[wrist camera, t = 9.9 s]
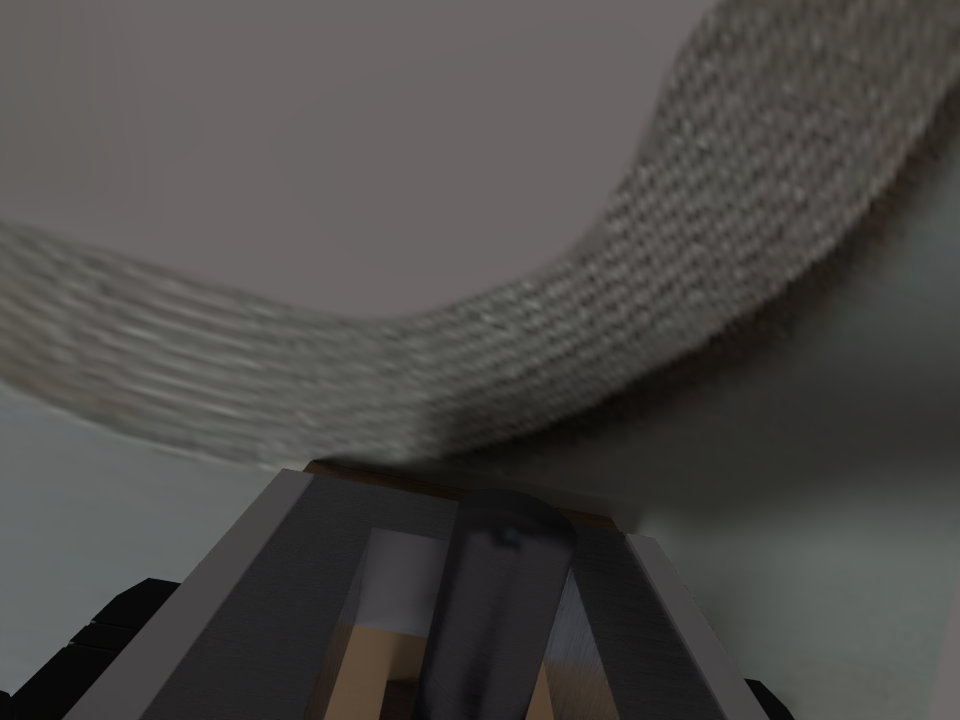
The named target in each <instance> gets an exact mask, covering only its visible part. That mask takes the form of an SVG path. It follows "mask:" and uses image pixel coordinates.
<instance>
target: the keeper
mask: <svg viewBox="0 0 960 720" xmlns="http://www.w3.org/2000/svg"><path fill="white" fill-rule="evenodd" d="M302 472H306V473H311V474H314V476H313V478H314V477H315V475H316V474H317V475H322V476H327V477H333V478H338V479H343V480H349V481H354V482H359V483H364V484H370V485H375V486H380V487H386V488H391V489H396V490H401V491H407V492H412V493H417V494H423V495H428V496H433V497H438V498H444V499H449V500H454V501H460V502H459V504H458V507H457V512H456V516H455V521H454V525H453V529H452V534H451V538H450V543H449V547H448V551H447V556H446V560H445V565H444V569H443V573H442V578H441V582H440V587H439V591H438V596H437V600H436V604H435V609H434V613H433V618H432V622H431V626H430V631H429V635H428V638H426V637H420V636H414V635H408V634H403V633H397V632H391V631H385V630H379V629H373V628H368V627H362V626H356V625H354V628H353V631H352V634H351V637H350V640H349V643H348V646H347V649H346V652H345V655H344V659H343V662H342V665H341V668H340V671H339V674H338V677H337V680H336V683H335V686H334V690H333V693H332V696H331V699H330V702H329V705H328V708H327V711H326V714H325V717H324V720H554V717H553V711H552V705H551V700H550V694H549V689H548V683H547V677H546V672H545V666H544V661H543V657H544V654H545V651H546V647H547V644H548V640H549V637H550V634H551V630H552V627H553V623H554V620H555V616H556V613H557V610H558V606H559V603H560V599H561V596H562V592H563V589H564V586H565V582H566V579H567V575H568V572H569V569H570V565H571V562H572V558H573V555H574V551H575V548H576V545H577V533H576V531H575V528H574V526H573V525H572V523H576V524H581V525H587V526H592V527H597V528H602V529H608V530H613V531H618V529H617V527H616V525H615V523H614V522H613V520H612V518H607V517H602V516H597V515H592V514H586V513H581V512H576V511H571V510H565V509H560V508H555V507H553V506H551V505H549V504H548V503H546V502H544V501H542V500H540V499H538V498H535V497H533V496H530V495H527V494H524V493H520V492H516V491H512V490H505V489H483V490H478V491H474V492H471V491H466V490H461V489H455V488H450V487H445V486H440V485H434V484H429V483H424V482H419V481H413V480H408V479H403V478H398V477H392V476H387V475H382V474H377V473H371V472H366V471H361V470H356V469H351V468H345V467H340V466H335V465H330V464H324V463H319V462H314V461H310V462H309V464H308V465H307V466H306V467H305V469H304V470H303V471H302ZM618 532H619V531H618Z"/></svg>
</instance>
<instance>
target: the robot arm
mask: <svg viewBox="0 0 960 720" xmlns="http://www.w3.org/2000/svg"><path fill="white" fill-rule="evenodd" d="M313 476H314V474H311V473H306V472H300V471H295V470H290V469H284V468H283V469H282V470H281V471H280V472H279V473H278V475H277V476H276V477H275V478H274V479H273V480H272V481H271V483H270V484H269V485H268V486H267V487H266V488H265V489H264V491H263V492H262V493H261V494H260V495H259V496H258V497H257V498H256V500H255V501H254V502H253V503H252V504H251V505H250V506H249V508H248V509H247V510H246V511H245V512H244V513H243V514H242V516H241V517H240V518H239V519H238V520H237V521H236V522H235V523H234V525H233V526H232V527H231V528H230V529H229V530H228V531H227V533H226V534H225V535H224V536H223V537H222V538H221V539H220V541H219V542H218V543H217V544H216V545H215V546H214V547H213V548H212V550H211V551H210V552H209V553H208V554H207V555H206V556H205V558H204V559H203V560H202V561H201V562H200V563H199V564H198V566H197V567H196V568H195V569H194V570H193V571H192V572H191V573H190V575H189V576H188V577H187V578H186V579H185V580H184V581H183V583H176V582H170V581H164V580H159V579H153V578H148V579H146V580H144V581H142V582H140V583H139V584H137V585H135V586H133V587H132V588H130V589H128V590H126V591H124V592H123V593H121V594H119V595H117V596H116V597H115V598H114V599H113V600H112V601H111V602H110V603H108V604H107V605H106V606H105V607H104V608H103V609H102V610H101V611H100V612H99V613H98V614H97V615H96V616H95V617H94V618H93V619H92V620H91V622H90V624H89V625H88V626H85V627H84V628H83V629H82V630H80V631H79V632H78V633H77V634H76V635H75V636H74V637H73V638H72V639H71V640H70V641H69V643H68V645H67V647H66V648H65V647H63V648H62V649H61V650H60V651H59V652H58V653H57V654H56V655H55V656H53V657H52V658H51V659H50V660H49V661H48V662H47V663H46V664H45V665H44V666H43V667H42V668H41V669H40V670H39V671H38V672H37V673H36V674H35V675H34V676H33V677H32V678H31V679H30V680H29V681H28V682H26V683H25V684H24V685H23V686H22V687H21V688H20V689H19V690H18V691H17V692H16V693H15V694H14V695H13V696H12V697H10V695H9V693H6V692H4V691H1V690H0V720H139V719H140V718H141V716H142V715H143V713H144V712H145V711H146V709H147V708H148V706H149V705H150V704H151V702H152V701H153V700H154V698H155V697H156V695H157V694H158V693H159V691H160V690H161V688H162V687H163V686H164V684H165V683H166V682H167V680H168V679H169V677H170V676H171V675H172V673H173V672H174V671H175V669H176V668H177V666H178V665H179V664H180V662H181V661H182V659H183V658H184V657H185V655H186V654H187V653H188V651H189V650H190V648H191V647H192V646H193V644H194V643H195V641H196V640H197V639H198V637H199V636H200V635H201V633H202V632H203V630H204V629H205V628H206V626H207V625H208V624H209V622H210V621H211V619H212V618H213V617H214V615H215V614H216V612H217V611H218V610H219V608H220V607H221V606H222V604H223V603H224V601H225V600H226V599H227V597H228V596H229V595H230V593H231V592H232V590H233V589H234V588H235V586H236V585H237V583H238V582H239V581H240V579H241V578H242V577H243V575H244V574H245V572H246V571H247V570H248V568H249V567H250V565H251V564H252V563H253V561H254V560H255V559H256V557H257V556H258V554H259V553H260V552H261V550H262V549H263V548H264V546H265V545H266V543H267V542H268V541H269V539H270V538H271V536H272V535H273V534H274V532H275V531H276V530H277V528H278V527H279V525H280V524H281V523H282V521H283V520H284V519H285V517H286V516H287V514H288V513H289V512H290V510H291V509H292V507H293V506H294V505H295V503H296V502H297V501H298V499H299V498H300V496H301V495H302V494H303V492H304V491H305V489H306V488H307V487H308V485H309V484H310V483H311V481H312V480H313ZM625 538H626V540H627V542H628V544H629V545H630V547H631V549H632V551H633V553H634V554H635V556H636V558H637V560H638V562H639V563H640V565H641V567H642V569H643V571H644V573H645V574H646V576H647V578H648V580H649V582H650V583H651V585H652V587H653V589H654V591H655V593H656V594H657V596H658V598H659V600H660V602H661V603H662V605H663V607H664V609H665V611H666V612H667V614H668V616H669V618H670V620H671V622H672V623H673V625H674V627H675V629H676V631H677V632H678V634H679V636H680V638H681V640H682V642H683V643H684V645H685V647H686V649H687V651H688V652H689V654H690V656H691V658H692V660H693V662H694V663H695V665H696V667H697V669H698V671H699V672H700V674H701V676H702V678H703V680H704V681H705V683H706V685H707V687H708V689H709V691H710V692H711V694H712V696H713V698H714V700H715V701H716V703H717V705H718V707H719V709H720V711H721V712H722V714H723V716H724V718H725V720H795V719H794V718H793V716H792V715H791V713H790V712H789V710H788V709H787V708H786V706H784V705H783V704H782V703H781V702H780V701H779V700H778V699H777V698H776V697H775V696H774V695H773V694H772V693H771V692H770V691H769V690H768V689H767V688H766V687H765V686H764V685H763V684H762V683H761V682H760V681H756V680H751V679H745V678H743V677H742V675H741V674H740V672H739V670H738V669H737V667H736V666H735V664H734V663H733V661H732V659H731V658H730V656H729V655H728V653H727V652H726V650H725V648H724V647H723V645H722V644H721V642H720V640H719V639H718V637H717V636H716V634H715V633H714V631H713V629H712V628H711V626H710V625H709V623H708V621H707V620H706V618H705V617H704V615H703V614H702V612H701V610H700V609H699V607H698V606H697V604H696V603H695V601H694V599H693V598H692V596H691V595H690V593H689V591H688V590H687V588H686V587H685V585H684V584H683V582H682V580H681V579H680V577H679V576H678V574H677V572H676V571H675V569H674V568H673V566H672V565H671V563H670V561H669V560H668V558H667V557H666V555H665V554H664V552H663V550H662V549H661V547H660V546H659V544H658V542H657V541H656V539H655V538H650V537H645V536H640V535H634V534H629V533H627V534H626V537H625Z"/></svg>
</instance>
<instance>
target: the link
mask: <svg viewBox="0 0 960 720" xmlns="http://www.w3.org/2000/svg"><path fill="white" fill-rule="evenodd" d="M459 502H460V501H454V500H449V499H444V498H438V497H433V496H428V495H423V494H417V493H412V492H407V491H401V490H396V489H391V488H386V487H380V486H375V485H370V484H364V483H359V482H354V481H349V480H343V479H338V478H333V477H327V476H322V475H317V474H316V475H315V477H314V478H313V480H312V481H311V483H310V484H309V485H308V487H307V488H306V489H305V491H304V492H303V494H302V495H301V496H300V498H299V499H298V501H297V502H296V503H295V505H294V506H293V507H292V509H291V510H290V512H289V513H288V514H287V516H286V517H285V519H284V520H283V521H282V523H281V524H280V525H279V527H278V528H277V530H276V531H275V532H274V534H273V535H272V536H271V538H270V539H269V541H268V542H267V543H266V545H265V546H264V548H263V549H262V550H261V552H260V553H259V554H258V556H257V557H256V559H255V560H254V561H253V563H252V564H251V565H250V567H249V568H248V570H247V571H246V572H245V574H244V575H243V577H242V578H241V579H240V581H239V582H238V583H237V585H236V586H235V588H234V589H233V590H232V592H231V593H230V595H229V596H228V597H227V599H226V600H225V601H224V603H223V604H222V606H221V607H220V608H219V610H218V611H217V612H216V614H215V615H214V617H213V618H212V619H211V621H210V622H209V624H208V625H207V626H206V628H205V629H204V630H203V632H202V633H201V635H200V636H199V637H198V639H197V640H196V641H195V643H194V644H193V646H192V647H191V648H190V650H189V651H188V653H187V654H186V655H185V657H184V658H183V659H182V661H181V662H180V664H179V665H178V666H177V668H176V669H175V671H174V672H173V673H172V675H171V676H170V677H169V679H168V680H167V682H166V683H165V684H164V686H163V687H162V688H161V690H160V691H159V693H158V694H157V695H156V697H155V698H154V700H153V701H152V702H151V704H150V705H149V706H148V708H147V709H146V711H145V712H144V713H143V715H142V716H141V718H140V719H139V720H324V717H325V714H326V711H327V708H328V705H329V702H330V699H331V696H332V693H333V690H334V686H335V683H336V680H337V677H338V674H339V671H340V668H341V665H342V662H343V659H344V655H345V652H346V649H347V646H348V643H349V640H350V637H351V634H352V631H353V628H354V625H356V626H362V627H368V628H373V629H379V630H385V631H391V632H397V633H403V634H408V635H414V636H420V637H426V638H428V635H429V631H430V626H431V622H432V618H433V613H434V609H435V604H436V600H437V596H438V591H439V587H440V582H441V578H442V573H443V569H444V565H445V560H446V556H447V551H448V547H449V543H450V538H451V534H452V529H453V525H454V521H455V516H456V512H457V507H458V504H459ZM572 525H573V526H574V528H575V531H576V533H577V545H576V548H575V551H574V555H573V558H572V562H571V565H570V569H569V572H568V575H567V579H566V582H565V586H564V589H563V592H562V596H561V599H560V603H559V606H558V610H557V613H556V616H555V620H554V623H553V627H552V630H551V634H550V637H549V640H548V644H547V647H546V651H545V654H544V657H543V661H544V666H545V672H546V677H547V683H548V689H549V694H550V700H551V705H552V711H553V717H554V720H725V718H724V716H723V714H722V712H721V711H720V709H719V707H718V705H717V703H716V701H715V700H714V698H713V696H712V694H711V692H710V691H709V689H708V687H707V685H706V683H705V681H704V680H703V678H702V676H701V674H700V672H699V671H698V669H697V667H696V665H695V663H694V662H693V660H692V658H691V656H690V654H689V652H688V651H687V649H686V647H685V645H684V643H683V642H682V640H681V638H680V636H679V634H678V632H677V631H676V629H675V627H674V625H673V623H672V622H671V620H670V618H669V616H668V614H667V612H666V611H665V609H664V607H663V605H662V603H661V602H660V600H659V598H658V596H657V594H656V593H655V591H654V589H653V587H652V585H651V583H650V582H649V580H648V578H647V576H646V574H645V573H644V571H643V569H642V567H641V565H640V563H639V562H638V560H637V558H636V556H635V554H634V553H633V551H632V549H631V547H630V545H629V544H628V542H627V540H626V538H625V536H624V534H623V532H618V531H613V530H608V529H602V528H597V527H592V526H587V525H581V524H576V523H572Z"/></svg>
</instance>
